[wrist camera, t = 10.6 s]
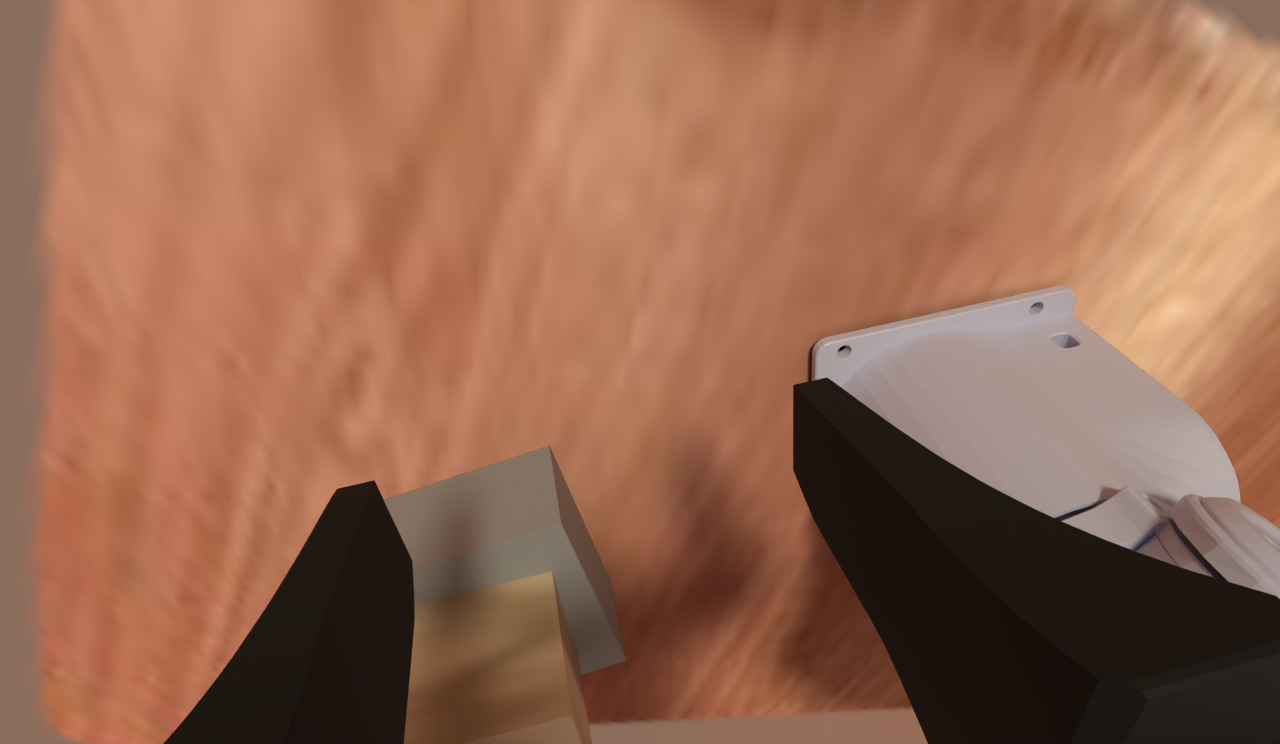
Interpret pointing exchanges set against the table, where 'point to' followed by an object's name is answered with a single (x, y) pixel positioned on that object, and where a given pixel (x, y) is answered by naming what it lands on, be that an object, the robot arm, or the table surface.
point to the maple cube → (496, 669)
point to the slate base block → (511, 544)
